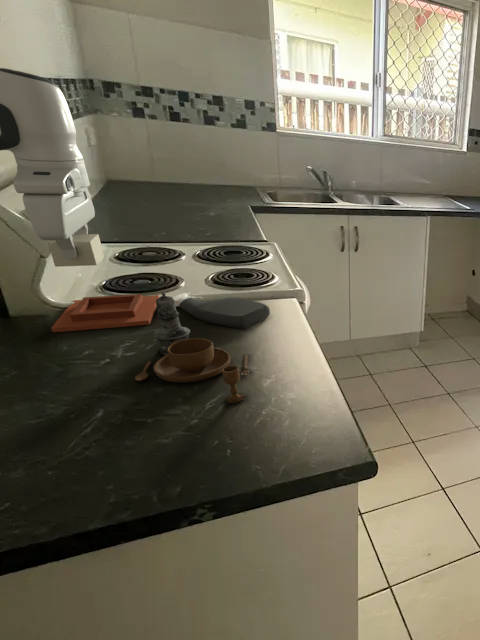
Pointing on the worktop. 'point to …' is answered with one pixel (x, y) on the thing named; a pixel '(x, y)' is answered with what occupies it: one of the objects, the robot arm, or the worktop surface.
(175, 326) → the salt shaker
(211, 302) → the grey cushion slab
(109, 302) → the base pad
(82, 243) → the beige block
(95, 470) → the worktop surface
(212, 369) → the place setting
